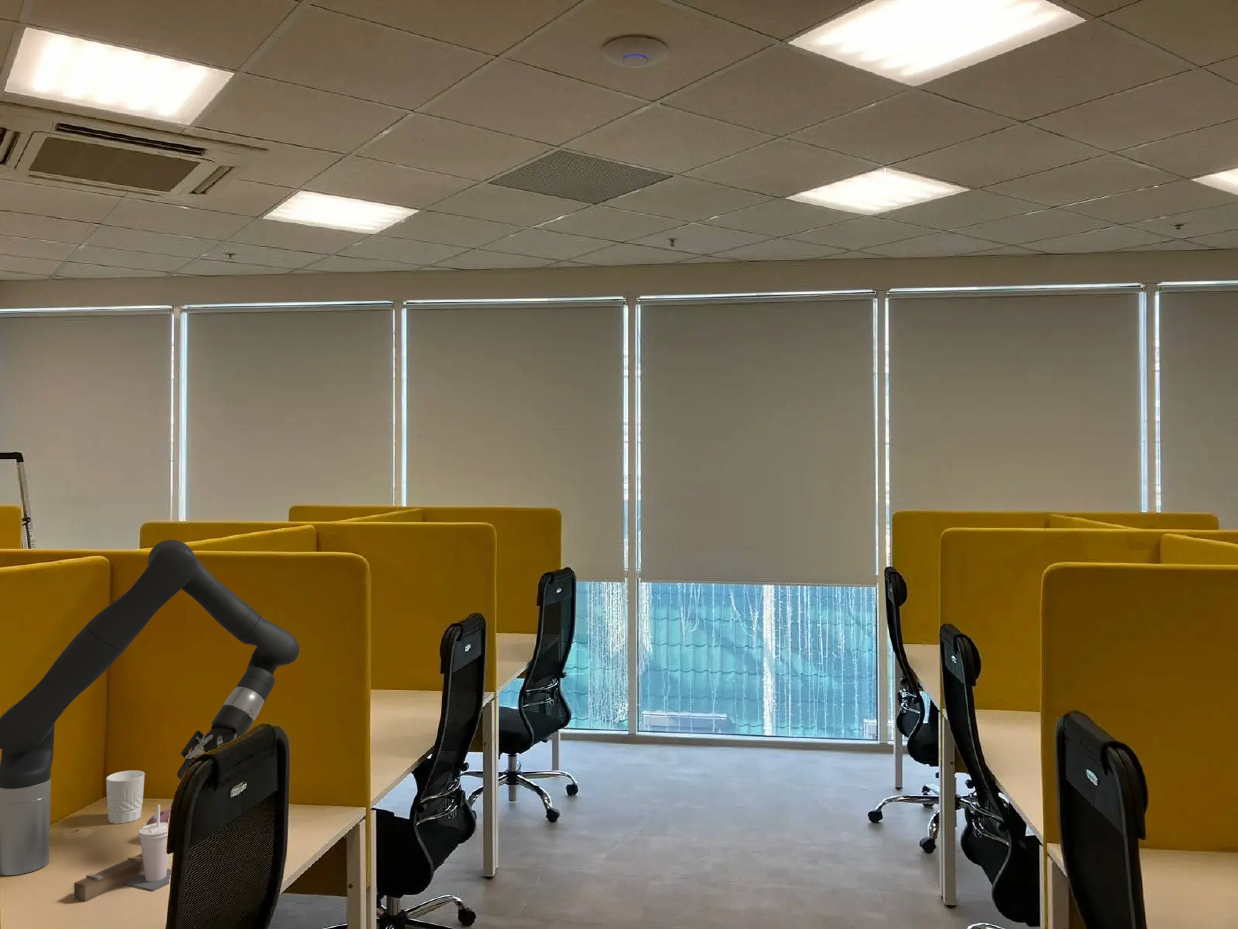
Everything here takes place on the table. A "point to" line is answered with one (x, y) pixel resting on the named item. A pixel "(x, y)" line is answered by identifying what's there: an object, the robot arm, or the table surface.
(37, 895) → the table surface
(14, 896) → the table surface
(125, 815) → the white cup
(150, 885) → the end pad
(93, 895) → the guide rail
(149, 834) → the smoothie
